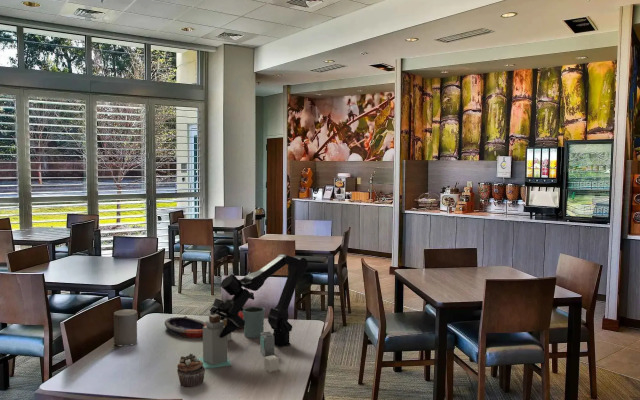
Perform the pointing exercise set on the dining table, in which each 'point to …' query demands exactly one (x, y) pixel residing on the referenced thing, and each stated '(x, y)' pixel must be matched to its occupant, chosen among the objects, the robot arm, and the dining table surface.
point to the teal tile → (214, 365)
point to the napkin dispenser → (267, 344)
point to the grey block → (271, 363)
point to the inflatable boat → (185, 327)
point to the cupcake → (190, 371)
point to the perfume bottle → (214, 341)
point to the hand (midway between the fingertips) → (214, 334)
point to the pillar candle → (125, 327)
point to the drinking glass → (253, 321)
